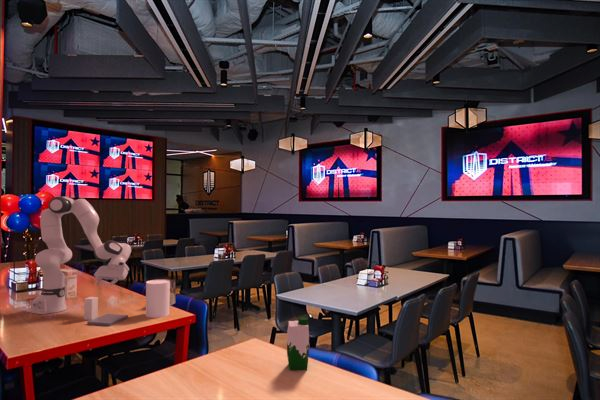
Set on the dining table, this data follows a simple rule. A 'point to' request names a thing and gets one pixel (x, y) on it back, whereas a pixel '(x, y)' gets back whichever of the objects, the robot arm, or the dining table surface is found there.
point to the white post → (90, 308)
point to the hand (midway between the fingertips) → (104, 284)
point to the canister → (157, 298)
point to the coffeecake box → (70, 283)
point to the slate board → (107, 319)
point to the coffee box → (172, 292)
